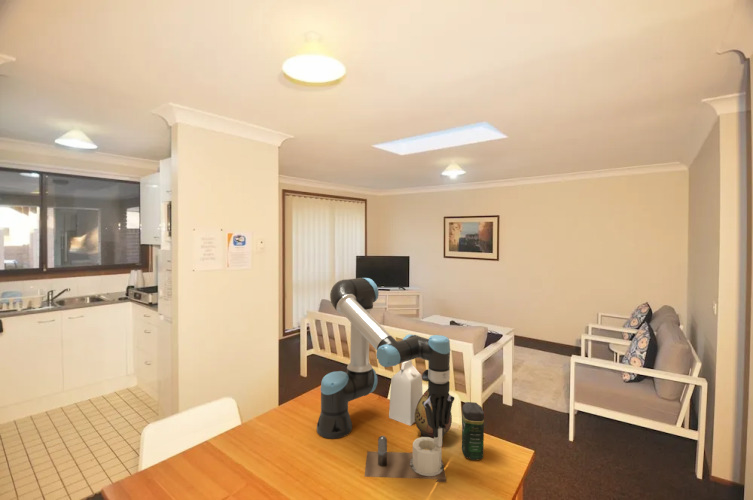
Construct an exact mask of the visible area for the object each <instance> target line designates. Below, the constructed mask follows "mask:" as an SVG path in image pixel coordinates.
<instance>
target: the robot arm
mask: <svg viewBox="0 0 753 500" xmlns="http://www.w3.org/2000/svg"><path fill="white" fill-rule="evenodd" d="M329 299H330V303H331V304H332V306H333V308H334V309H335V310H336V312H337V313H339V314H340V315H344V316H345V318H346V319H347V320H348V321H349V322H350V355H349V356H350V358H349V359H350V361H349V362H350V363H348V364H347V367H346V371H342V370H338V371H335V370H334V371H332V372H329V373H327V374H326V375H324V376H323V377H322V380H321V382H320V383H321V384H320V414H319V417H318V420H317V423H316V432H317V433H316V434H318V435H319V436H321V437H323V438H324V439H325V438H326V439H331V440H332V439H333V440H334V439H340V438H344V437H346V436H348V435H349V434H351V431H352V430H353V422H352V419H351V416H350V413H349V402H351V401H354V400H356V399H359V398H361V397H365V396H368V395H370V394H372V393H373V392H374V391H375V390H376V388H377V387H378V386H377V385H378V375H377V374H376V371H375V369H374V367H373V365H372V364H371V363H370V345H371V346H372V347H373V348H374V349H375V350H376V359H377V360H378V364H380V366H381V367H383V368H389V367H395V366H397V365H400V364H402V363H403V362H406V361H409V360H411V361H412V360H416V359H421V360H425V361H428V362H427V363H428V366H427V367H428V378H429V380H428V381H427V382H428V383H427V385H428V386H427V389H428V390H429V395H428V399H427V400H426V401H423V402H422V404H423V406H424V407H425V412H426V417H427V422H428V425H429V426H430V427H431V428H432V429H433V436H434V444H435V445H437V446H438V447H442V446H443V438H442V435H443V434H444V429H445V428H446V426H445V425H446V424H448V423H449V418H450V413H451V414H452V406H453V403H454V401H455V396H453V395H451V394H450V393H449V392H450V375H451V373H450V372H451V370H450V368H451V367H450V364H451V362H450V360H451V344H450V343H451V341H450V339H449V338H448V337H447V336H445V335H440V334H435V335H431V336H430V335H429V337H428V338H425V337H422V336H420V335H417V334H410V333H409V334H406V335H404V337H403V338H402V339H401V340H396V339H395V338H394V336H392V335H391V334H390V333H389V332H388V331H387V330H386V328H384V327H383V326H382V325H381V324H380V323H379V322H378V321H377V320H376V319H375V318H374V317H373V316H372V315H371V314H370V313H371V312H372V310H373V309H374V303H376V302H377V300H378V299H379V289H378V286H377V284H376V282H375V281H374V280H373V279H371V278H369V277H357V278H348V279H341V280H339V281H337V282H336V283H335V284H333V286H332V288H331V289H330V295H329ZM430 402H431V404H430ZM431 406H432V410H431ZM444 435H445V434H444Z"/></svg>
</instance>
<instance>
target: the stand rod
mask: <svg viewBox="0 0 753 500" xmlns="http://www.w3.org/2000/svg"><path fill="white" fill-rule="evenodd" d="M377 452H378V465H379V466H381V467H384V466H386V465H387V452H388V439H387V437H386V436H385V435H380V436H379V437H378V439H377Z"/></svg>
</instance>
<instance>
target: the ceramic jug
mask: <svg viewBox="0 0 753 500" xmlns="http://www.w3.org/2000/svg"><path fill="white" fill-rule="evenodd" d="M421 376H422V381H424V382H428V380H429V378H428V369H425V370H424V371H423V372H422V374H421ZM428 395H429V390H428V388H427V389H426V391H424V392H423V396H422V397H421V398H420V400H419V402H418V404H417V406H416V410H415V422H414V423H415V426H416V428H417V429H418V430H419V432H420V435H421V437H430V438H433V439H434V436H433V429H432V428H431V427H430V426H429V425H428V422H427V417H426V412H425V407H424V406H423V404H422V402H423V401H426V400H427V399H428ZM430 404H431V402H430ZM431 410H432V406H431ZM452 416H453V415H452V412H451V413H450V418H449V423H448V424H446V425H445V426H446V428H445V429H444V434H443V435H442V439H443V438H444V436H445V435H446V433H447V432H449V430H450V428H451V426H452V420H453V419H452V418H453V417H452Z"/></svg>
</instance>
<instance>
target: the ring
mask: <svg viewBox="0 0 753 500" xmlns="http://www.w3.org/2000/svg"><path fill="white" fill-rule="evenodd" d="M424 448H429V449H430V450H424ZM412 453H413V467H414V468H415V469H416V470H417V471H420V472H422V473H425V474H433V473H435V472H438V471H439V470H440V468H441V458H442V453H443V451H442V446H441V447H438V446H437V445H435V444H434V439H433V438H430V437H422V436H421V437H418V438H416V439H415V440H414V441H413V442H412Z"/></svg>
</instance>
